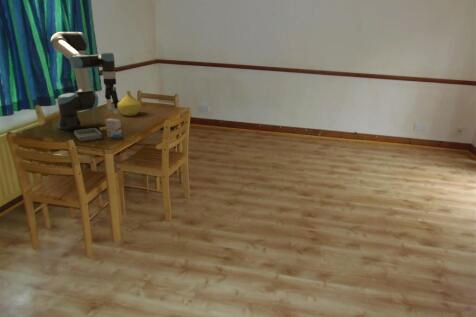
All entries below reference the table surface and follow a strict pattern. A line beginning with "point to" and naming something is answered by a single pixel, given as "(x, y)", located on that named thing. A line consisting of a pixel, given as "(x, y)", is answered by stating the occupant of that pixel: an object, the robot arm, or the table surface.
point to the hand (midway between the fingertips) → (112, 111)
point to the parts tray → (87, 134)
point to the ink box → (113, 128)
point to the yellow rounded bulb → (129, 105)
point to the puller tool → (102, 128)
